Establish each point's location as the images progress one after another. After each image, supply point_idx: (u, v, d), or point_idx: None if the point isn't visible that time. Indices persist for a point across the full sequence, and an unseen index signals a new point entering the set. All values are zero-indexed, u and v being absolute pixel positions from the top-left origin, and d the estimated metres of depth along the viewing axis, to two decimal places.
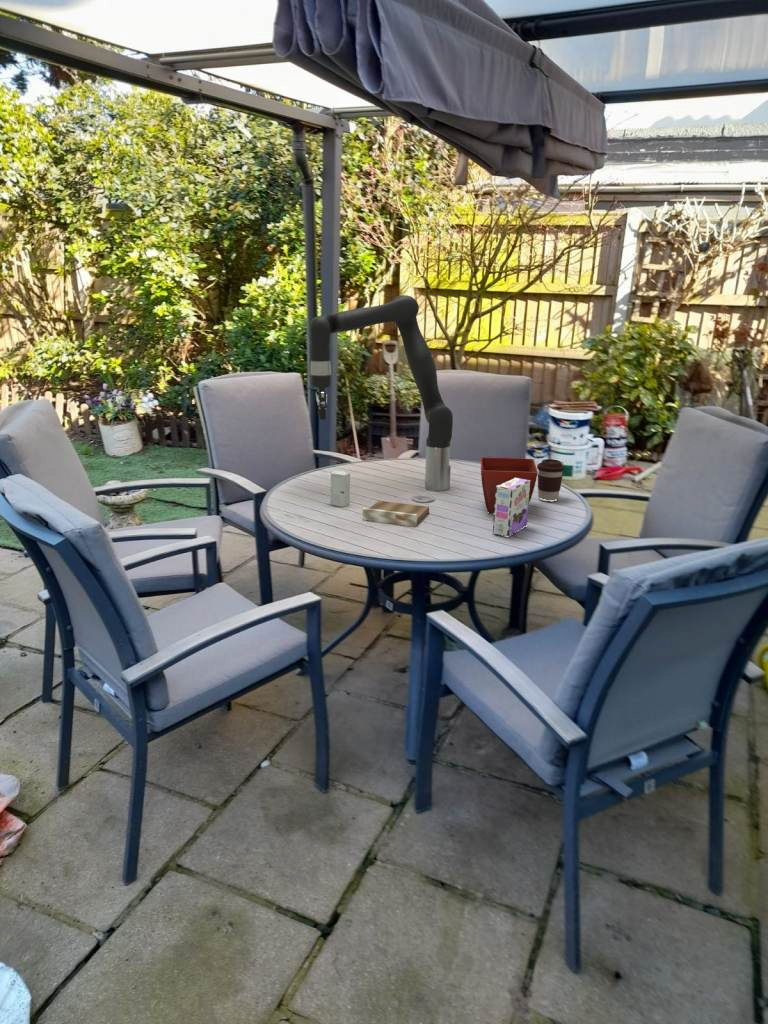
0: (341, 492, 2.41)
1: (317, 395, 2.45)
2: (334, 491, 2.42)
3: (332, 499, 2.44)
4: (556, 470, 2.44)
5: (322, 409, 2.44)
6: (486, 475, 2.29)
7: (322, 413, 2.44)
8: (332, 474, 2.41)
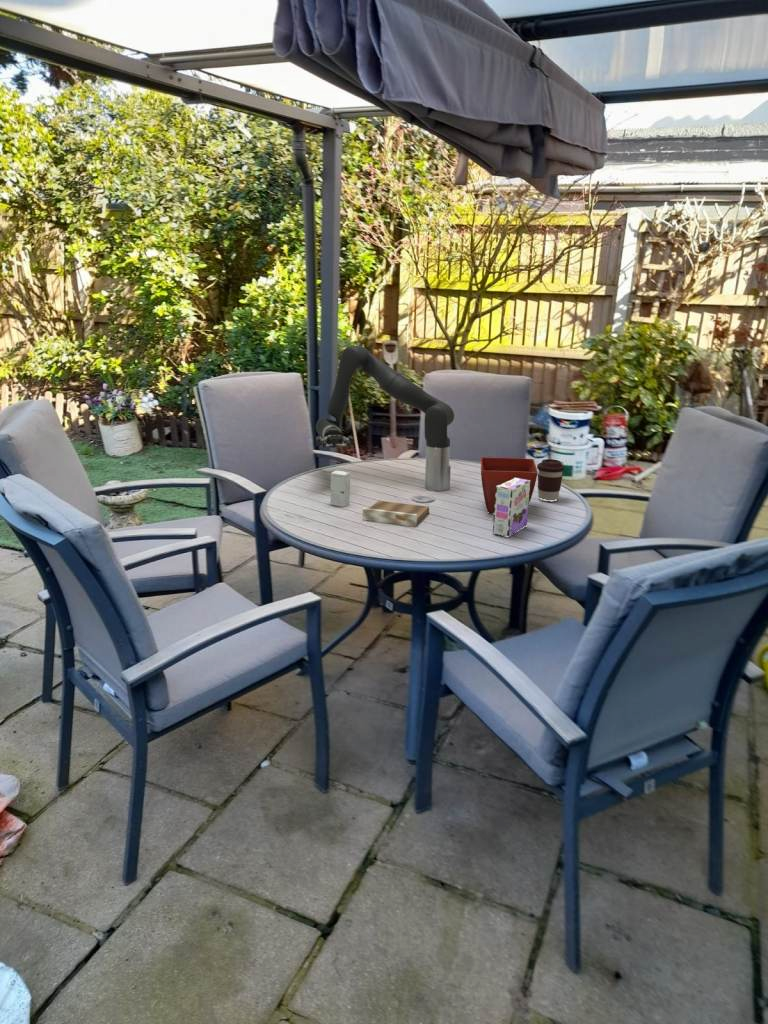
0: (341, 492, 2.41)
1: None
2: (334, 491, 2.42)
3: (332, 499, 2.44)
4: (556, 470, 2.44)
5: (321, 443, 2.52)
6: (486, 475, 2.29)
7: (321, 444, 2.51)
8: (332, 474, 2.41)
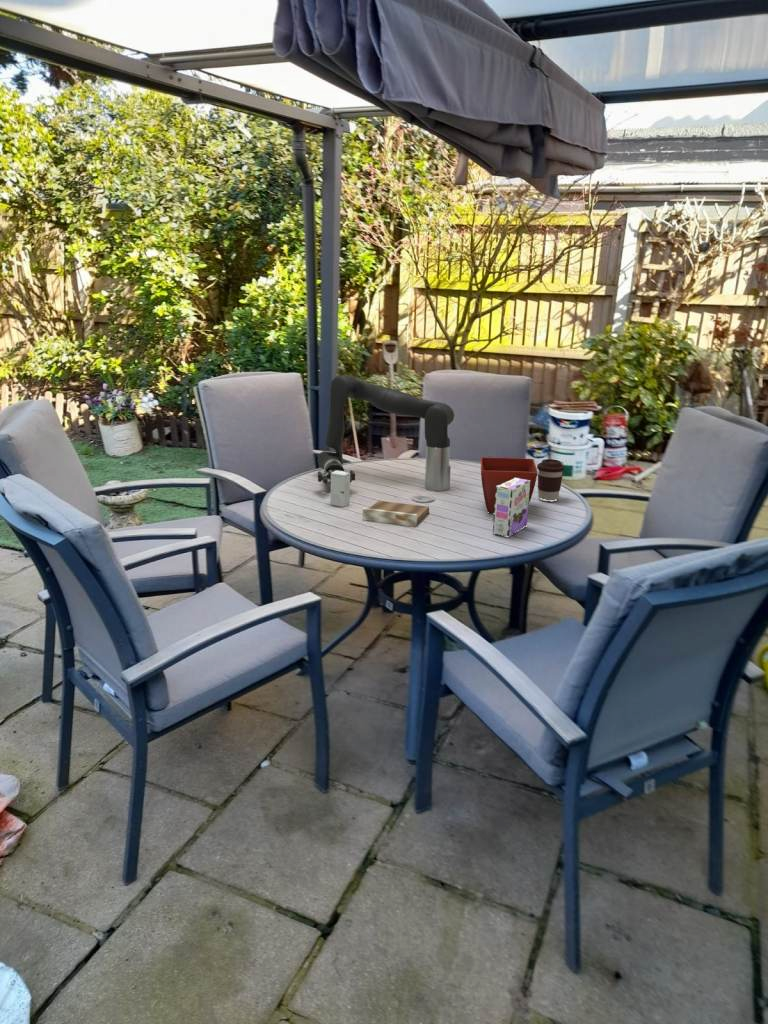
0: (341, 492, 2.41)
1: None
2: (334, 491, 2.42)
3: (332, 499, 2.44)
4: (556, 470, 2.44)
5: (322, 479, 2.54)
6: (486, 475, 2.29)
7: (323, 480, 2.53)
8: (332, 474, 2.41)
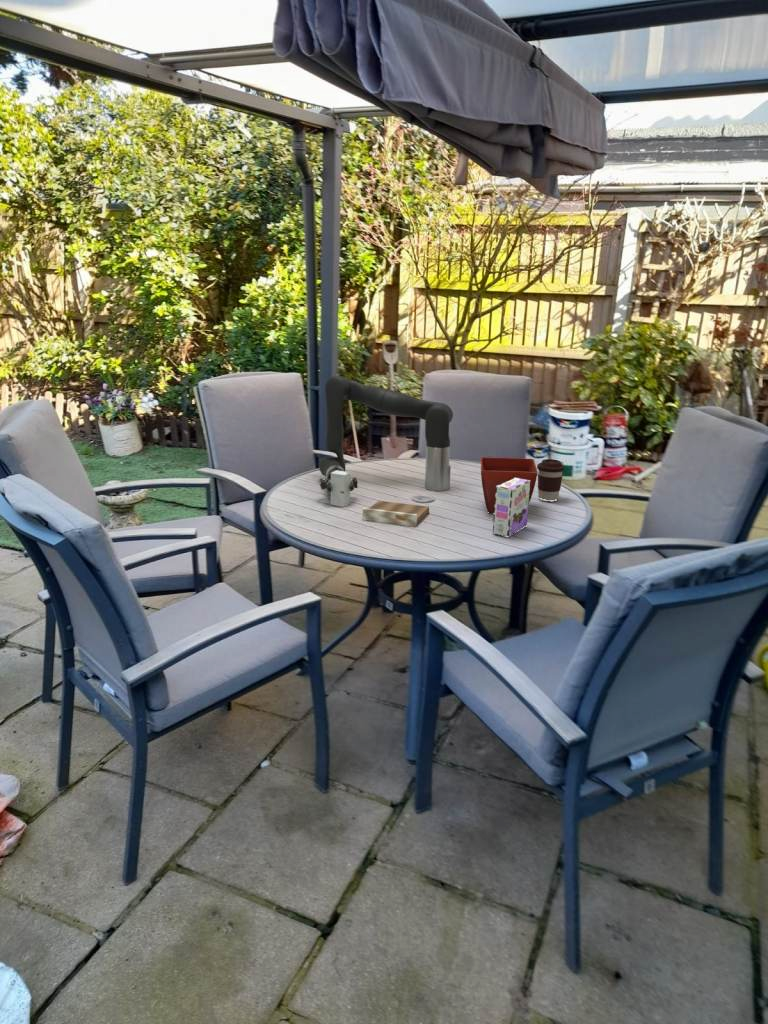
0: (341, 492, 2.41)
1: None
2: (334, 491, 2.42)
3: (332, 499, 2.44)
4: (556, 470, 2.44)
5: (326, 486, 2.44)
6: (486, 475, 2.29)
7: (326, 487, 2.43)
8: (332, 474, 2.41)
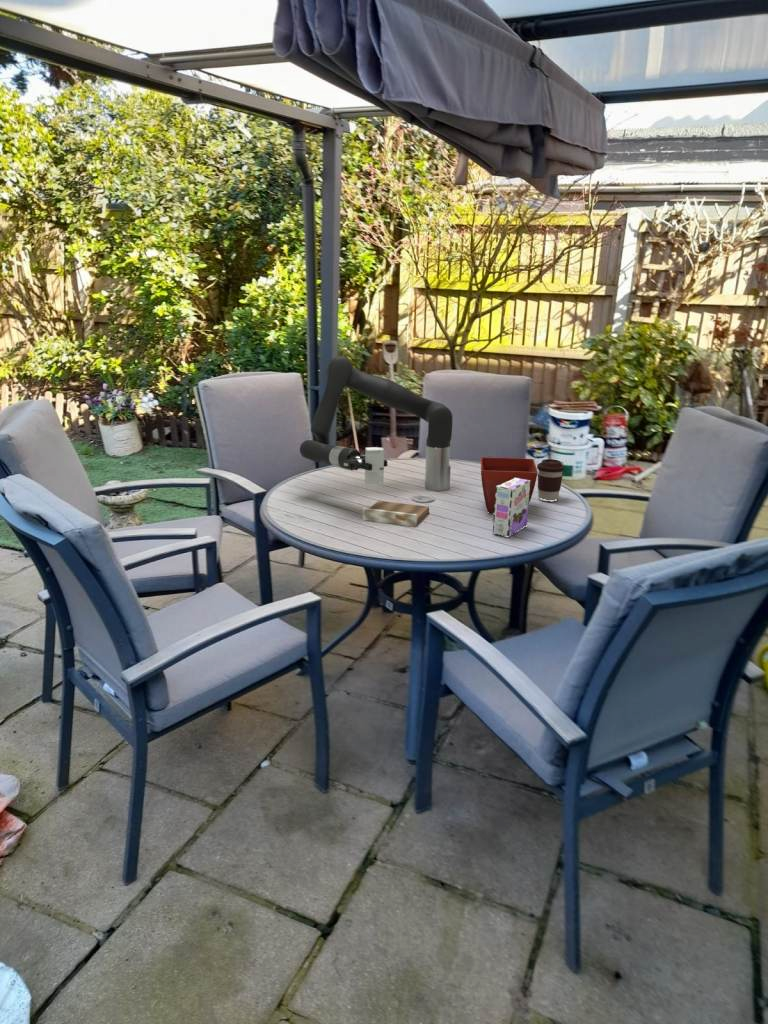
0: (381, 468, 2.27)
1: None
2: (372, 469, 2.27)
3: (369, 478, 2.27)
4: (556, 470, 2.44)
5: (360, 466, 2.26)
6: (486, 475, 2.29)
7: (364, 467, 2.25)
8: (369, 451, 2.25)
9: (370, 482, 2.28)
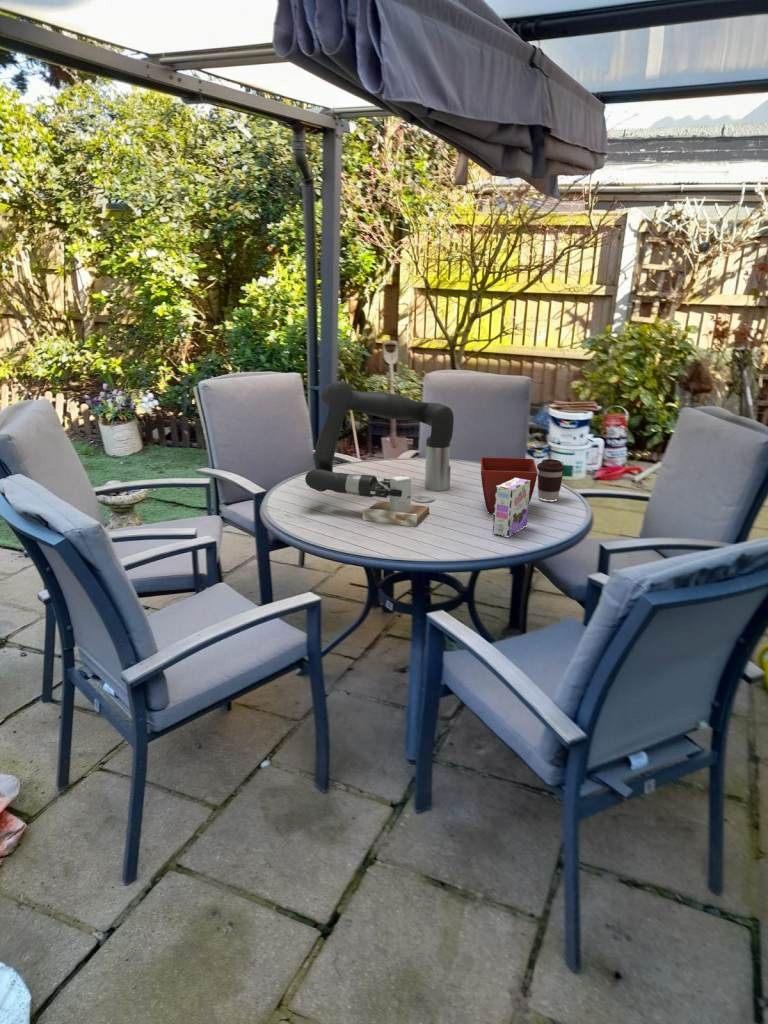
0: (408, 497, 2.27)
1: None
2: (401, 499, 2.26)
3: (398, 508, 2.26)
4: (556, 470, 2.44)
5: (389, 493, 2.23)
6: (486, 475, 2.29)
7: (393, 494, 2.22)
8: (398, 481, 2.23)
9: None
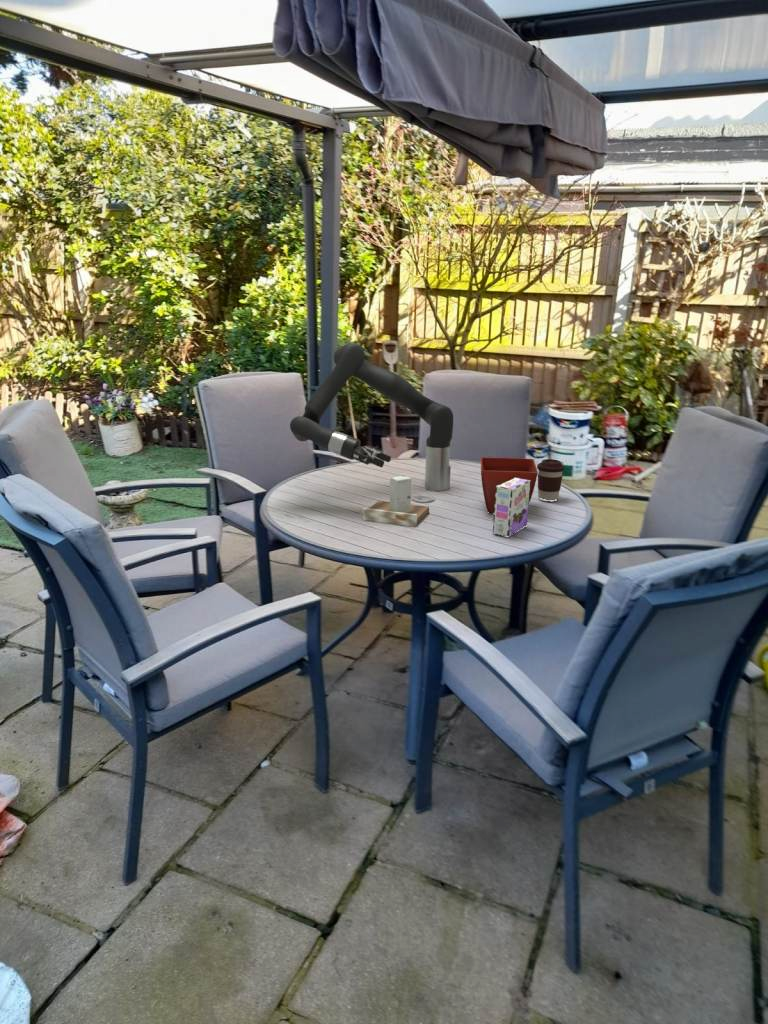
0: (408, 497, 2.27)
1: None
2: (401, 499, 2.26)
3: (398, 508, 2.26)
4: (556, 470, 2.44)
5: (371, 461, 2.25)
6: (486, 475, 2.29)
7: (376, 463, 2.25)
8: (398, 481, 2.23)
9: None
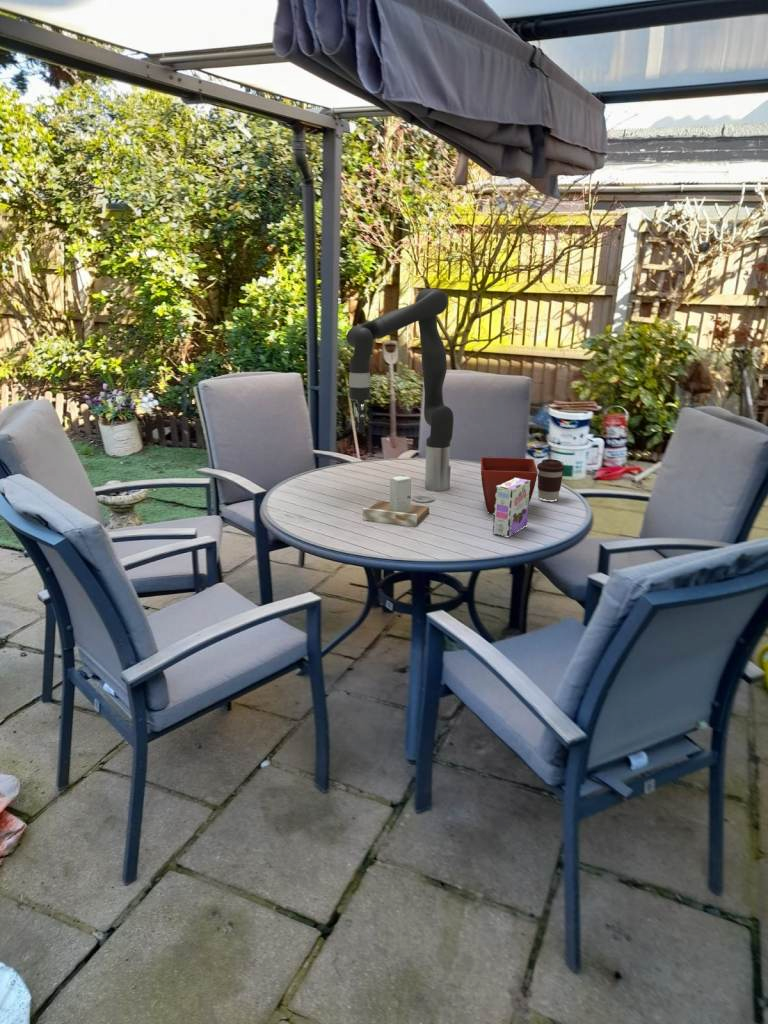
0: (408, 497, 2.27)
1: (356, 407, 2.39)
2: (401, 499, 2.26)
3: (398, 508, 2.26)
4: (556, 470, 2.44)
5: (361, 422, 2.38)
6: (486, 475, 2.29)
7: (361, 426, 2.38)
8: (398, 481, 2.23)
9: None
